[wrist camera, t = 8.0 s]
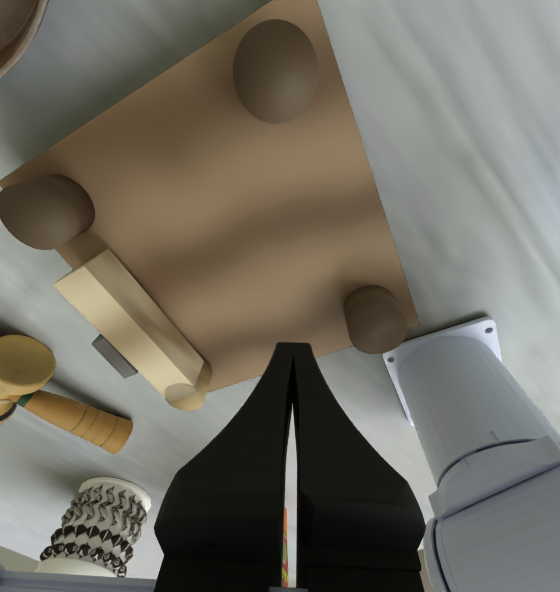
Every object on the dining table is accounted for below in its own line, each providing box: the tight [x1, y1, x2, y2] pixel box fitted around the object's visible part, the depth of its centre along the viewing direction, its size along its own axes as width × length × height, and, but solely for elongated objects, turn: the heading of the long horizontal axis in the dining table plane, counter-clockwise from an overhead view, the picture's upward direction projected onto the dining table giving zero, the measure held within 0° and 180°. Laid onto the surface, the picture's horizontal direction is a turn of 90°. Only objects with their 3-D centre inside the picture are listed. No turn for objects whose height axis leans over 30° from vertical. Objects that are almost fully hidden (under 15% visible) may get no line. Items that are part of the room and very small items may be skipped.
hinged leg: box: [53, 248, 212, 411], centre depth 20 cm, size 11×3×2 cm, turn 28°
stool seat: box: [0, 0, 420, 393], centre depth 18 cm, size 18×18×5 cm
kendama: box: [0, 335, 133, 454], centre depth 26 cm, size 8×6×18 cm
